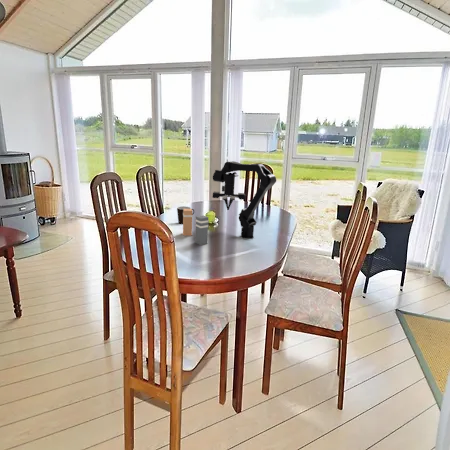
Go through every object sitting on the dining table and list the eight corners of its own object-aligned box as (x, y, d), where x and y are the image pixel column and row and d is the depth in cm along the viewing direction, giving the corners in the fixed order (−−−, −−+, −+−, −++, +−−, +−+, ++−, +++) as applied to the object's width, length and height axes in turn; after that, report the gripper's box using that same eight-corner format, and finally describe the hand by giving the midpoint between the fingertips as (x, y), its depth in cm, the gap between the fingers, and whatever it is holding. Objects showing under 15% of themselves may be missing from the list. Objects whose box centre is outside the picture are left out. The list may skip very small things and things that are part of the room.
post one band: (191, 232, 191) (191, 208, 187) (192, 235, 186) (192, 210, 182) (182, 233, 190) (183, 208, 186) (183, 235, 185) (183, 210, 181)
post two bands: (202, 241, 178) (203, 215, 174) (207, 243, 174) (208, 217, 171) (194, 242, 175) (195, 216, 171) (200, 245, 171) (201, 218, 168)
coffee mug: (177, 225, 209) (177, 209, 206) (175, 221, 217) (176, 206, 214) (196, 225, 212) (196, 209, 209) (193, 221, 220) (194, 206, 217)
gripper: (245, 182, 203) (243, 207, 207) (213, 180, 203) (212, 206, 207) (245, 185, 192) (244, 212, 196) (213, 183, 192) (211, 210, 196)
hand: (228, 209), depth 199 cm, fingers closed
